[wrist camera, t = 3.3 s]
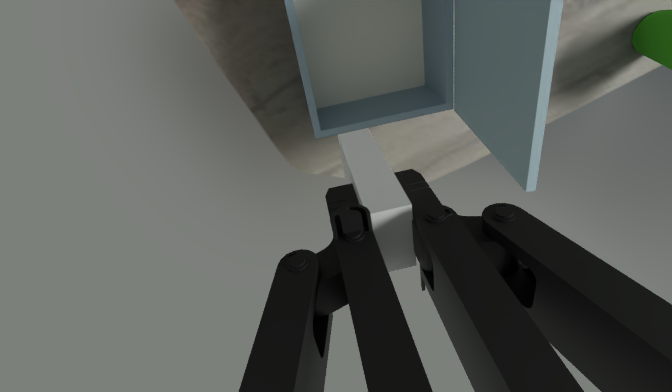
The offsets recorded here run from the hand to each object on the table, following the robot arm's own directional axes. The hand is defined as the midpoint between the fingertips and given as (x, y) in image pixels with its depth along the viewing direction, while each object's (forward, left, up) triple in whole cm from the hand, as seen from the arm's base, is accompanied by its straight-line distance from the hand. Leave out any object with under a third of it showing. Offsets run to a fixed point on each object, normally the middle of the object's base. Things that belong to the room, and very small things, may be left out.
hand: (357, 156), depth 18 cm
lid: (0, +13, -14) cm, 19 cm away
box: (0, +6, -31) cm, 31 cm away
